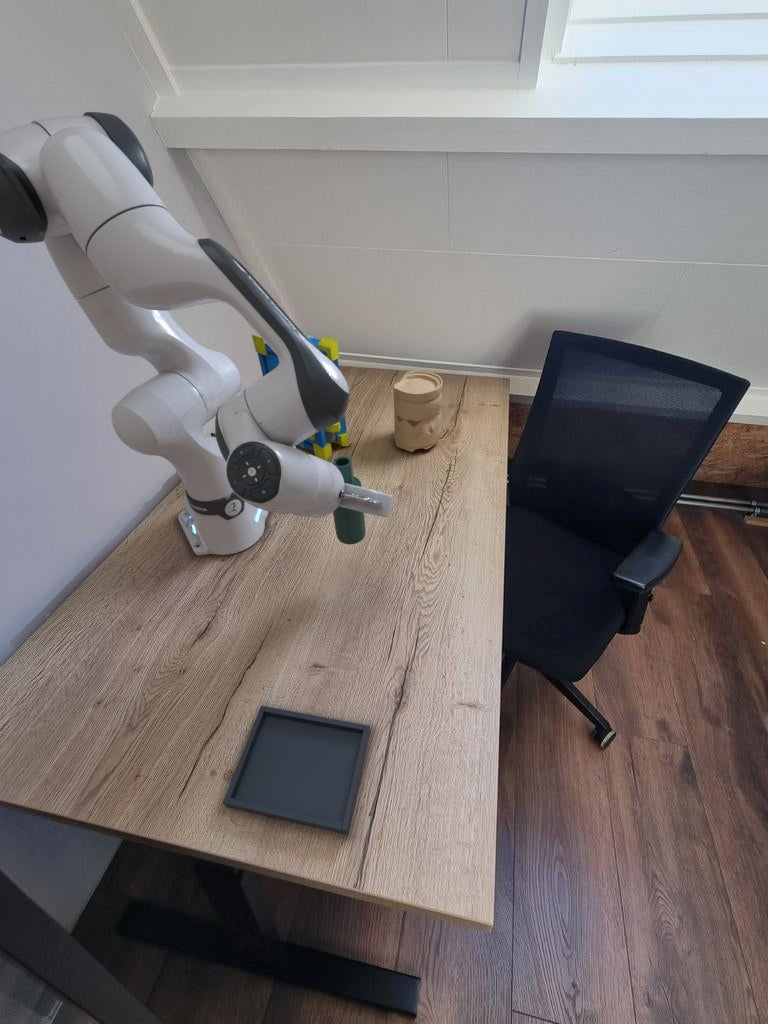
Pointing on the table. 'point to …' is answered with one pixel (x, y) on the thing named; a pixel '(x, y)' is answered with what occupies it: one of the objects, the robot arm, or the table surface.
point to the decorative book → (330, 434)
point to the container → (417, 410)
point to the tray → (300, 769)
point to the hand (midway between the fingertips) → (348, 496)
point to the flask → (348, 520)
